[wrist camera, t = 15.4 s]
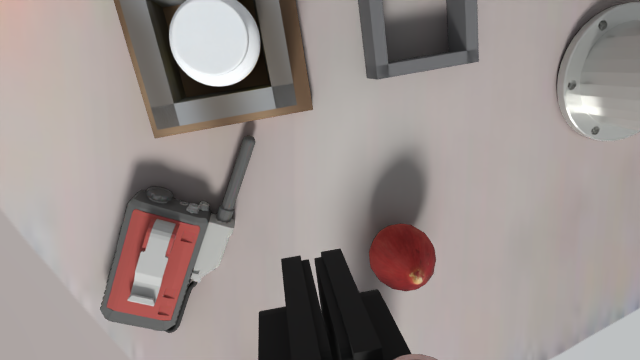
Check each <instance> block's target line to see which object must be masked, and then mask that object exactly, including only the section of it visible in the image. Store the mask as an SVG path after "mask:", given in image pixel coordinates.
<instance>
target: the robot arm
mask: <svg viewBox="0 0 640 360" xmlns="http://www.w3.org/2000/svg"><path fill="white" fill-rule="evenodd" d="M557 95H558V103H559V106H560V110H561V113H562V115H563V117H564V119H565V120H566V122H567V123H568V124H569V126H570V127H571V128H572V129H573V130H574V131H576V132H577V133H579V134H580V135H582V136H584V137H587V138H590V139H594V140H599V141H617V140H621V139H625V138H628V137H630V136H632V135H635V134H636V133H638V132H640V2H630V3H624V4H619V5H615V6H613V7H610V8H608V9H605V10H603V11H602V12H600V13H599V14H597V15H596V16H594V17H593V18H592V19H590V20H589V21H588V22H587V23H586V24H585V25H584V26H583V27H582V28H581V29H580V30H579V32H578V33H577V34H576V35H575V37H574V38H573V40H572V41H571V43H570V45H569V46H568V48H567V50H566V52H565V55H564V57H563V60H562V62H561V66H560V70H559V74H558V82H557ZM281 262H282V272H283V282H284V292H285V302H286V307H281V308H275V309H270V310H264V311H260V312H259V348H258V360H437V359H435V358H433V357H430V356H426V355H422V354H411V352H410V350H409V348H408V346H407V344H406V342H405V340H404V338H403V336H402V335H401V333H400V331H399V329H398V327H397V325H396V323H395V321H394V319H393V317H392V315H391V313H390V311H389V309H388V307H387V305H386V303H385V301H384V300H383V298H382V296H381V294H380V292H379V291H378V290H371V291H366V292H361V293H359V291H358V289H357V287H356V284H355V282H354V280H353V277H352V275H351V272H350V270H349V268H348V265H347V263H346V261H345V258H344V256H343V254H342V251H341V249H335V250H330V251H324V252H321V257H319V258H315V267H316V274H317V282H318V289H319V297H320V304H321V309H320V304H319V300H318V296H317V292H316V288H315V283H314V279H313V275H312V271H311V267H310V263H309V259H308V260H302V261H301V257H300V256H295V257H289V258H284V259H281ZM321 312H322V313H321Z"/></svg>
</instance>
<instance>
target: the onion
mask: <svg viewBox="0 0 640 360" xmlns="http://www.w3.org/2000/svg"><path fill="white" fill-rule="evenodd" d="M369 257H370V266H371V269H372V270H373V272H374V273H375V275H376V276H377V278H378V279H379V280H380V281H381V282H383V283H384V284H386V285H387V286H389V287H391V288H392V289H396V290H402V291H410V290H416V289H418V288H420V287H421V286H423V285H425V284H426V283H427V282H428V280H429V279H430V278H431V276H432V275H433V273H434V266H435V262H436V257H435V250H434V247H433V244H432V243H431V241H430V240H429V238H428V237H427V236H426V234H425V233H424V232H422V231H420V230H419V229H417V228H415V227H414V226H412V225H408V224H395V225H390V226H387V227H386V228H384V229H382V230H381V231H380V232H379V233H378V234H377V236H376V237H375V238H374V240H373V242H372V245H371V248H370V251H369Z"/></svg>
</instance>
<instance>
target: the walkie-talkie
mask: <svg viewBox="0 0 640 360" xmlns="http://www.w3.org/2000/svg"><path fill="white" fill-rule="evenodd" d="M254 145H255V139H254V138H253V137H252V136H246V137H245V138H244V139H243V142H242V145H241V148H240V151H239V154H238V157H237V160H236V163H235V166H234V169H233V172H232V175H231V178H230V181H229V184H228V187H227V190H226V193H225V196H224V199H223V203H222V205H220V207H219V210H218V213H217V215H215V214H211V212H210V209H209V203H207V202H205V201H201V202H200V204H199V205H197V204H194V203H187V202H184V201H180V200H177V199H173V198H172V197H173V194H172V192H170V191H169V190H168V189H165V188H162V187H150V188H148V189H147V191H144V190H141V191H139V192H138V193H137V194H136V195H135V196H134V197H133V198H132V199H131V200H130V201H129V202H128V203H127V207H126V211H125V218H124V221H123V225H122V226H121V229H120V233H119V235H120V236H119V240H118V244H117V247H116V250H117V251H116V252H115V257H114V259H113V261H114V262H113V264H112V268H111V270H110V272H111V273H110V275H109V279H108V281H107V283H108V284H107V286H106V290H105V292H104V294H105V295H104V297H103V301H102V303H101V305H102V306H101V307H100V310H101V312H102V314H103V315H104V317H105V318H106V319H107V320H109V321H112V322H117V323H122V324H127V325H132V326H138V327H143V328H148V329H153V330H158V331H166V332H168V333H172V332H174V331H176V330H177V328H178V327H179V326H180V323H181V320H182V317H183V314H184V310H185V307H186V304H187V301H188V298H189V296H190V293H191V290H192V288H193V287H194V286H196V285H197V283H198V282H201V279H202V277H203V276H205V275H206V274H208V273H209V272H211V271H212V270H214V269H215V268H217V267H218V266H219V265H220V262H221V259H222V256H223V253H224V251H225V248H226V245H227V242H228V239H229V236H231V235H232V233H233V230H234V225H235V220H233V219H231V218H232V215H233V212H234V209H233V207H234V204H235V201H236V198H237V195H238V192H239V189H240V187H241V184H242V181H243V178H244V175H245V172H246V169H247V166H248V163H249V160H250V157H251V154H252V151H253V148H254ZM190 279H194V280H193V281H192V282H191V283H190V285H189V282H190ZM188 285H189V286H188ZM179 312H180V313H179ZM178 315H179V316H178Z"/></svg>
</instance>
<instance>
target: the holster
mask: <svg viewBox="0 0 640 360" xmlns="http://www.w3.org/2000/svg"><path fill="white" fill-rule="evenodd" d="M446 3H447V24H448V45H449V52H445V53H439V54H433V55H428V56H422V57H416V58H410V59H404V60H398V61H393V62H388V55H387V45H386V35H385V24H384V14H383V4H382V0H358V4H359V13H360V22H361V31H362V39H363V48H364V57H365V65H366V74H367V78H371V79H383V78H388V77H394V76H400V75H405V74H411V73H417V72H422V71H428V70H434V69H439V68H445V67H451V66H456V65H462V64H468V63H473V62H479V55H478V16H477V0H446Z"/></svg>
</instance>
